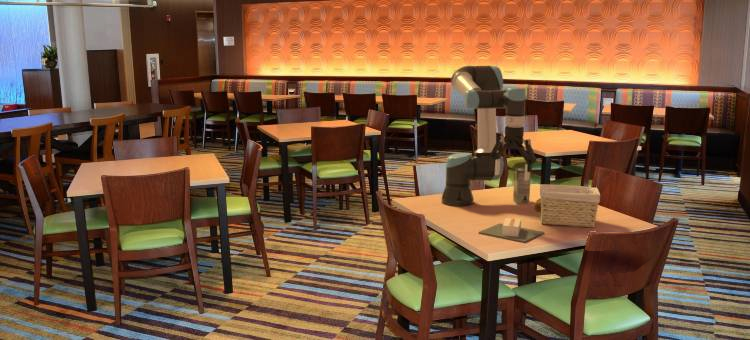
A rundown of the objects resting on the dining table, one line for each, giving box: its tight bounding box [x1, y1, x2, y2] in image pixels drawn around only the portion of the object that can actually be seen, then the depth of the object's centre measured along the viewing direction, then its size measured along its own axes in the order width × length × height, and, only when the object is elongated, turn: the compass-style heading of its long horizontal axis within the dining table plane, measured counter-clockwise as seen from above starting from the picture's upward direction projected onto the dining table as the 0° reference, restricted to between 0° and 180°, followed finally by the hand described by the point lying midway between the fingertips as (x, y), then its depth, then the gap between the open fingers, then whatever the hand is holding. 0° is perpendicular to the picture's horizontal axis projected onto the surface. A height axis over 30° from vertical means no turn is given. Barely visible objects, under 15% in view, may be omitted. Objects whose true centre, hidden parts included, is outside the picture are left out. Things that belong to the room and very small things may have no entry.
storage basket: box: [539, 183, 601, 228], centre depth 275 cm, size 24×16×15 cm
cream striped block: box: [502, 217, 522, 237], centre depth 259 cm, size 12×6×4 cm, turn 163°
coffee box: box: [512, 167, 532, 206], centre depth 311 cm, size 9×6×16 cm
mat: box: [478, 222, 545, 244], centre depth 260 cm, size 20×17×1 cm
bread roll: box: [533, 197, 541, 213], centre depth 297 cm, size 10×10×8 cm
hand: (511, 177), depth 269 cm, fingers open, 13 cm apart
